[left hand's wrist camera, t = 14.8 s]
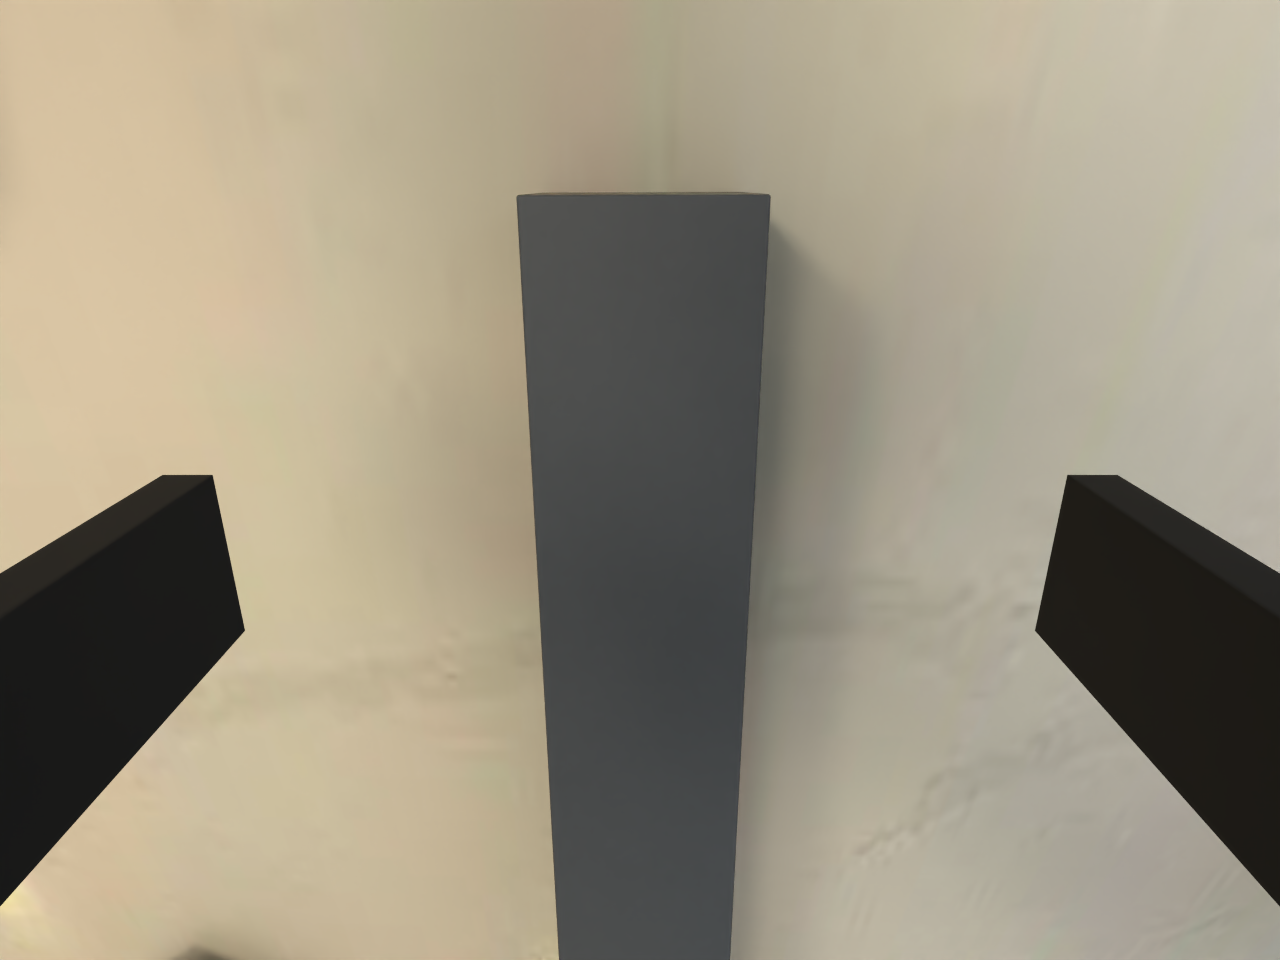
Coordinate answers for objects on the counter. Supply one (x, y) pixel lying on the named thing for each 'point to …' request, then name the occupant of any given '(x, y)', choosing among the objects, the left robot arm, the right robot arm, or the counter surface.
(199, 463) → the counter surface
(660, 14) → the counter surface
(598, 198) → the long dark grey beam
